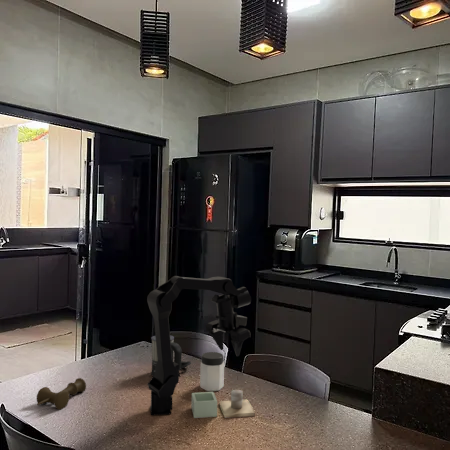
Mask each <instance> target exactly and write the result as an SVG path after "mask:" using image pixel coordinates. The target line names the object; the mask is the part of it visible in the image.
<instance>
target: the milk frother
mask: <svg viewBox="0 0 450 450" xmlns="http://www.w3.org/2000/svg"><path fill="white" fill-rule="evenodd" d="M150 338H151V373H150V374H151V376H152V377H153V376H154V374H155V366H156V363H157V361H158V357H157V346H156V335H153V336H151V337H150ZM174 339H175V337H174V336H173V335H171V334H170V342H171V353H172V360H173V362H175V363H177V364H178V365H179V372H180V371H181V370H182V369H183V368H187V367H189V366H190V365H191V364H192V362H191V361H190V360H189V361H183V360H182V357H183V356H182V355H183V354H182V353H183V350H182V347H181V346H180V344H179V343H177V342H174Z"/></svg>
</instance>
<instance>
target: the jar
mask: <svg viewBox="0 0 450 450" xmlns="http://www.w3.org/2000/svg"><path fill="white" fill-rule="evenodd" d="M199 370H200V371H199V373H200V374H199V375H200V376H199V377H200V378H199V379H200V380H199V387H200V388H201V389H202V390H205V392H217V391H218V392H219V391H221V390H222V389H223V387H224V386H225V385H224V383H225V382H224V381H225V380H224V379H225V361H224V355H223V354H222V353H220V352H215V351H208V352H204V353H203V354H201V362H200V369H199Z"/></svg>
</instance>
